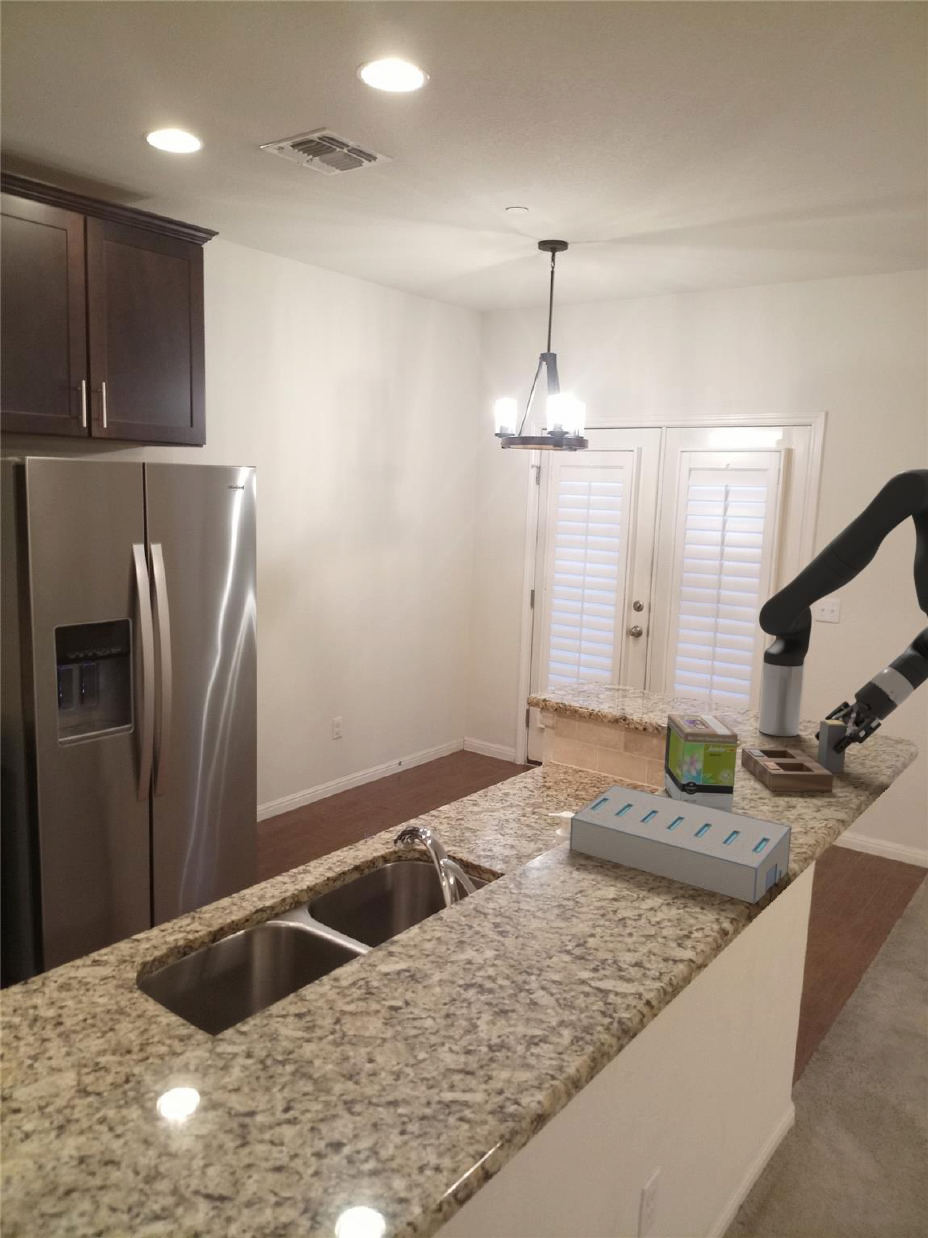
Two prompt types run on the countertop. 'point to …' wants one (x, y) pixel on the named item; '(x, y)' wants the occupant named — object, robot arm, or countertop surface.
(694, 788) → the tea box
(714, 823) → the multi-port usb hub
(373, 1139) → the countertop surface
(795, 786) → the dock
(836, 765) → the grey rectangular block
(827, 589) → the robot arm
